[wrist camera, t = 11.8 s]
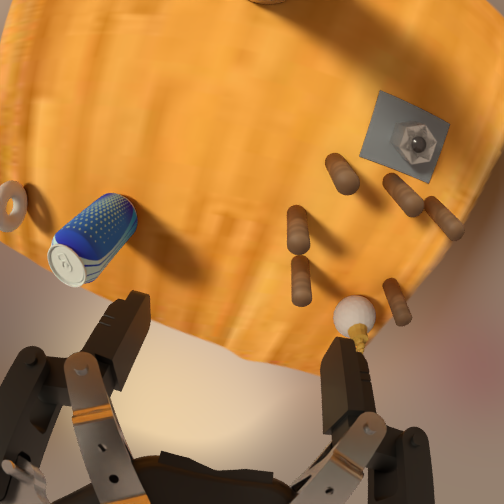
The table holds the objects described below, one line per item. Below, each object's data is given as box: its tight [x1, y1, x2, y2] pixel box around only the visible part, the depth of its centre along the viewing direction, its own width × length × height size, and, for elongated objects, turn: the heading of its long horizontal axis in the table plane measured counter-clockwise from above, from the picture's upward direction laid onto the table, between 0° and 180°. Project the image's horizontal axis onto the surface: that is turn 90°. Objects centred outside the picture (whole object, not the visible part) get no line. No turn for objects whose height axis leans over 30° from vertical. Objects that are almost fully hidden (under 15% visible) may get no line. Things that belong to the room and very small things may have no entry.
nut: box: [389, 120, 437, 164], centre depth 33 cm, size 6×5×4 cm
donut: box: [0, 181, 27, 232], centre depth 42 cm, size 10×4×10 cm, turn 171°
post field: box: [287, 153, 465, 326], centre depth 39 cm, size 20×23×9 cm
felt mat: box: [359, 90, 450, 183], centre depth 35 cm, size 10×12×1 cm
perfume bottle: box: [333, 295, 376, 354], centre depth 47 cm, size 8×10×12 cm
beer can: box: [48, 193, 138, 287], centre depth 39 cm, size 8×8×16 cm
